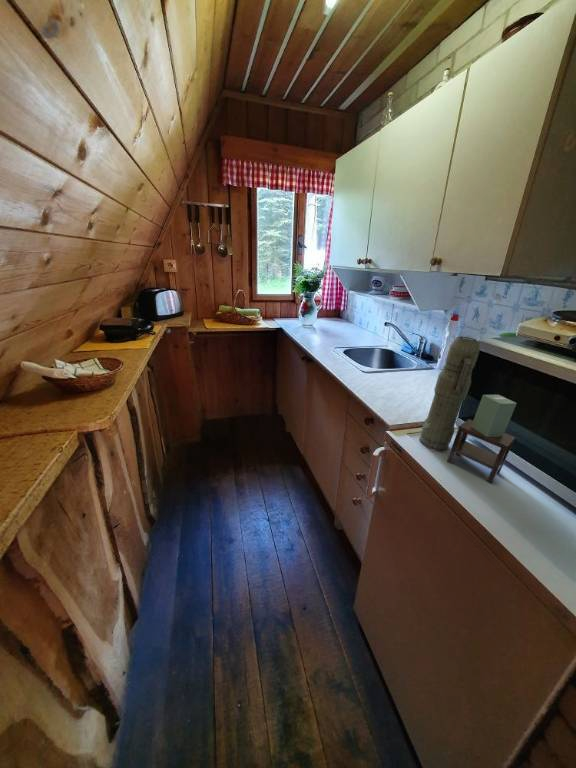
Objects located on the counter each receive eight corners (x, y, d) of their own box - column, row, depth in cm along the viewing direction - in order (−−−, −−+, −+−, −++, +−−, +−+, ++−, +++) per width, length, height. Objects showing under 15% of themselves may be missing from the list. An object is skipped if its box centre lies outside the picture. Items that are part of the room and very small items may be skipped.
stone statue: (440, 435, 105) (473, 335, 92) (454, 455, 94) (494, 345, 81) (414, 432, 105) (443, 332, 93) (425, 451, 94) (461, 341, 82)
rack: (499, 472, 88) (515, 437, 84) (491, 483, 83) (507, 446, 78) (456, 452, 96) (468, 419, 91) (446, 461, 91) (459, 426, 86)
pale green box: (486, 426, 88) (498, 394, 84) (502, 436, 83) (517, 402, 79) (470, 426, 87) (483, 394, 83) (487, 437, 82) (500, 403, 78)
